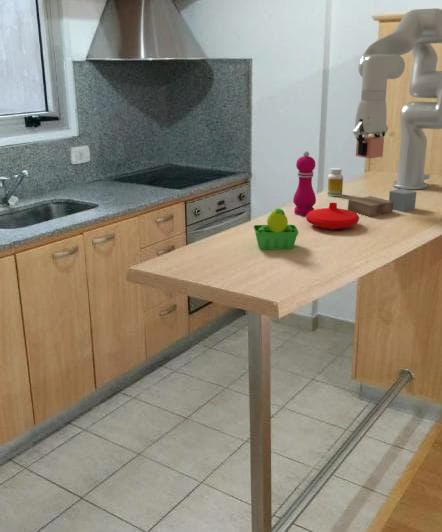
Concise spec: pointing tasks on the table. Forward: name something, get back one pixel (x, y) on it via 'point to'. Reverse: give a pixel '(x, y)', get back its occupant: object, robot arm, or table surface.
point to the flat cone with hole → (332, 217)
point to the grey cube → (403, 199)
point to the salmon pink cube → (373, 147)
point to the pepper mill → (304, 186)
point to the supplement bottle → (335, 182)
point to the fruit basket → (276, 232)
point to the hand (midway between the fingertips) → (369, 153)
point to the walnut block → (370, 206)
